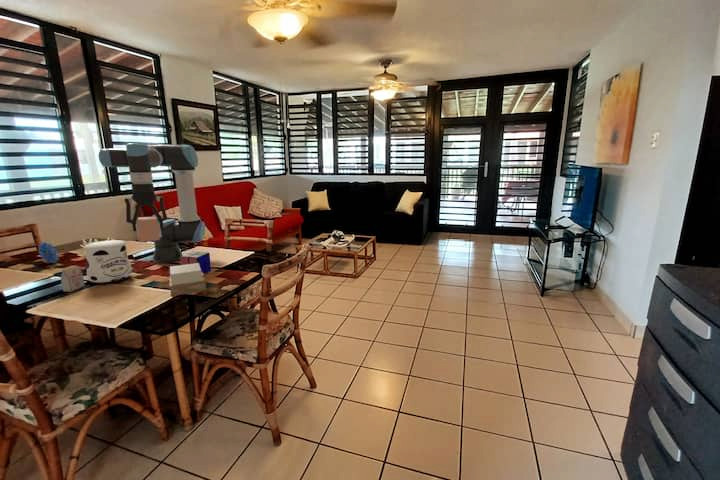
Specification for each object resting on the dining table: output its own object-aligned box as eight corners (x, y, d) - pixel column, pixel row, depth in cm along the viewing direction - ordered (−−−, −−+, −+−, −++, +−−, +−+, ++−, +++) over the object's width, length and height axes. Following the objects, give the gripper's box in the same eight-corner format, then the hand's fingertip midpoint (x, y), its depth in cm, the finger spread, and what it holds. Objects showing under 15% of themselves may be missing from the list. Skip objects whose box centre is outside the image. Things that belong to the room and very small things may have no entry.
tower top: (171, 276, 154) (169, 266, 153) (199, 272, 160) (198, 263, 159) (171, 285, 144) (170, 274, 143) (202, 280, 150) (201, 270, 149)
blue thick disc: (33, 264, 183) (28, 243, 180) (46, 261, 189) (42, 240, 186) (50, 266, 181) (45, 244, 178) (63, 262, 187) (59, 241, 184)
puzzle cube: (199, 276, 168) (197, 257, 166) (181, 275, 170) (179, 256, 167) (211, 270, 177) (209, 252, 175) (194, 269, 179) (192, 251, 177)
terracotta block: (141, 238, 143) (138, 217, 141) (160, 236, 147) (157, 216, 144) (139, 241, 137) (136, 220, 135) (159, 240, 141) (156, 219, 138)
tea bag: (63, 291, 148) (58, 269, 145) (77, 285, 154) (73, 265, 152) (70, 291, 147) (66, 270, 145) (84, 286, 154) (80, 265, 152)
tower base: (170, 286, 156) (169, 276, 155) (203, 281, 163) (202, 271, 162) (171, 297, 144) (169, 286, 143) (206, 291, 151) (205, 281, 150)
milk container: (119, 286, 154) (113, 248, 150) (79, 286, 153) (72, 248, 149) (140, 273, 171) (135, 239, 167) (104, 274, 170) (98, 239, 165)
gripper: (110, 184, 129) (120, 242, 134) (169, 183, 138) (176, 237, 143) (114, 182, 135) (123, 238, 141) (170, 181, 144) (176, 233, 150)
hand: (150, 237), depth 142 cm, fingers closed on terracotta block, 7 cm apart
